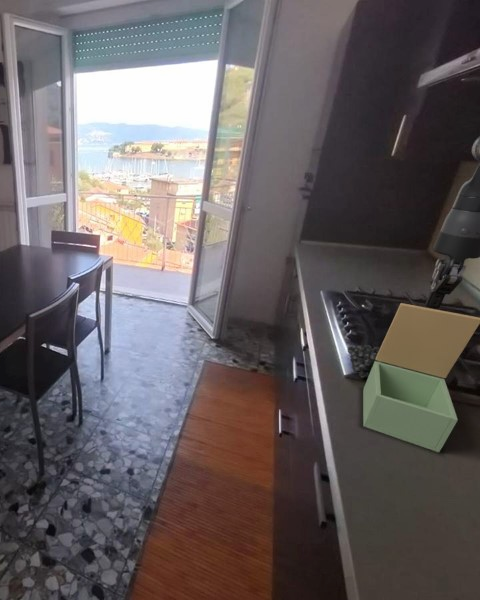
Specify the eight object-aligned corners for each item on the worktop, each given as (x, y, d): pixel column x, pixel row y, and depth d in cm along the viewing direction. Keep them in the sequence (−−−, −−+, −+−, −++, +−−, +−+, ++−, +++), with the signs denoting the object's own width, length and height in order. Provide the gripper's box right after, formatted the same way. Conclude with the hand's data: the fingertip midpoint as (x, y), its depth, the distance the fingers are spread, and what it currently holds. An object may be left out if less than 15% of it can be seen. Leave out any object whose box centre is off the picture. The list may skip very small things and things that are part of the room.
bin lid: (482, 319, 71) (481, 317, 72) (400, 304, 78) (400, 302, 78) (445, 378, 80) (445, 376, 80) (375, 360, 87) (375, 358, 87)
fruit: (353, 326, 102) (374, 353, 89) (382, 338, 101) (408, 367, 88) (334, 349, 106) (351, 378, 93) (362, 361, 105) (384, 392, 92)
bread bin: (439, 452, 73) (458, 420, 69) (363, 426, 79) (376, 395, 76) (428, 409, 84) (444, 379, 80) (363, 389, 91) (374, 360, 87)
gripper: (501, 241, 66) (460, 323, 74) (483, 228, 76) (448, 301, 83) (446, 236, 70) (412, 313, 78) (436, 223, 80) (407, 293, 87)
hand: (431, 307), depth 81 cm, fingers closed
